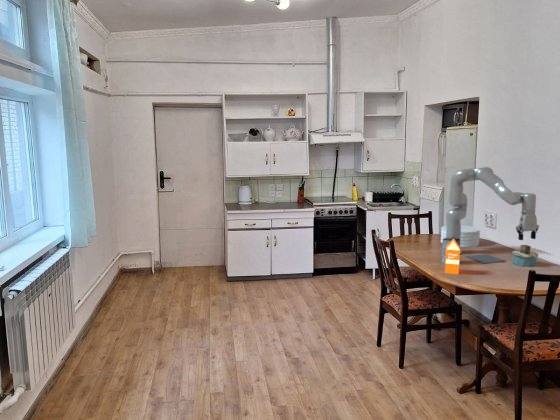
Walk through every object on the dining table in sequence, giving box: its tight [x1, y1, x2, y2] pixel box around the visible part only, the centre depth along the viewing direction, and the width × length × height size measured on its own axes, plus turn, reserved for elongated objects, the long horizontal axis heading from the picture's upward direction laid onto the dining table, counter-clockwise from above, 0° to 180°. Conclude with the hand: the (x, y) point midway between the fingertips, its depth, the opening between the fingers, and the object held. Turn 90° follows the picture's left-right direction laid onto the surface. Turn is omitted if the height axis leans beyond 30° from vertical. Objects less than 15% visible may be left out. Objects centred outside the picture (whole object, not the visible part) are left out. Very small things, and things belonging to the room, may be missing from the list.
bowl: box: [512, 254, 538, 268], centre depth 292 cm, size 13×13×6 cm
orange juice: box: [444, 239, 461, 275], centre depth 275 cm, size 8×9×20 cm
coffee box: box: [441, 237, 461, 264], centre depth 296 cm, size 9×6×16 cm
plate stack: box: [440, 224, 481, 248], centre depth 352 cm, size 28×28×12 cm
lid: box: [511, 244, 539, 258], centre depth 291 cm, size 15×15×6 cm
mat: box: [464, 253, 507, 265], centre depth 304 cm, size 18×18×1 cm
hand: (526, 239), depth 289 cm, fingers open, 9 cm apart
